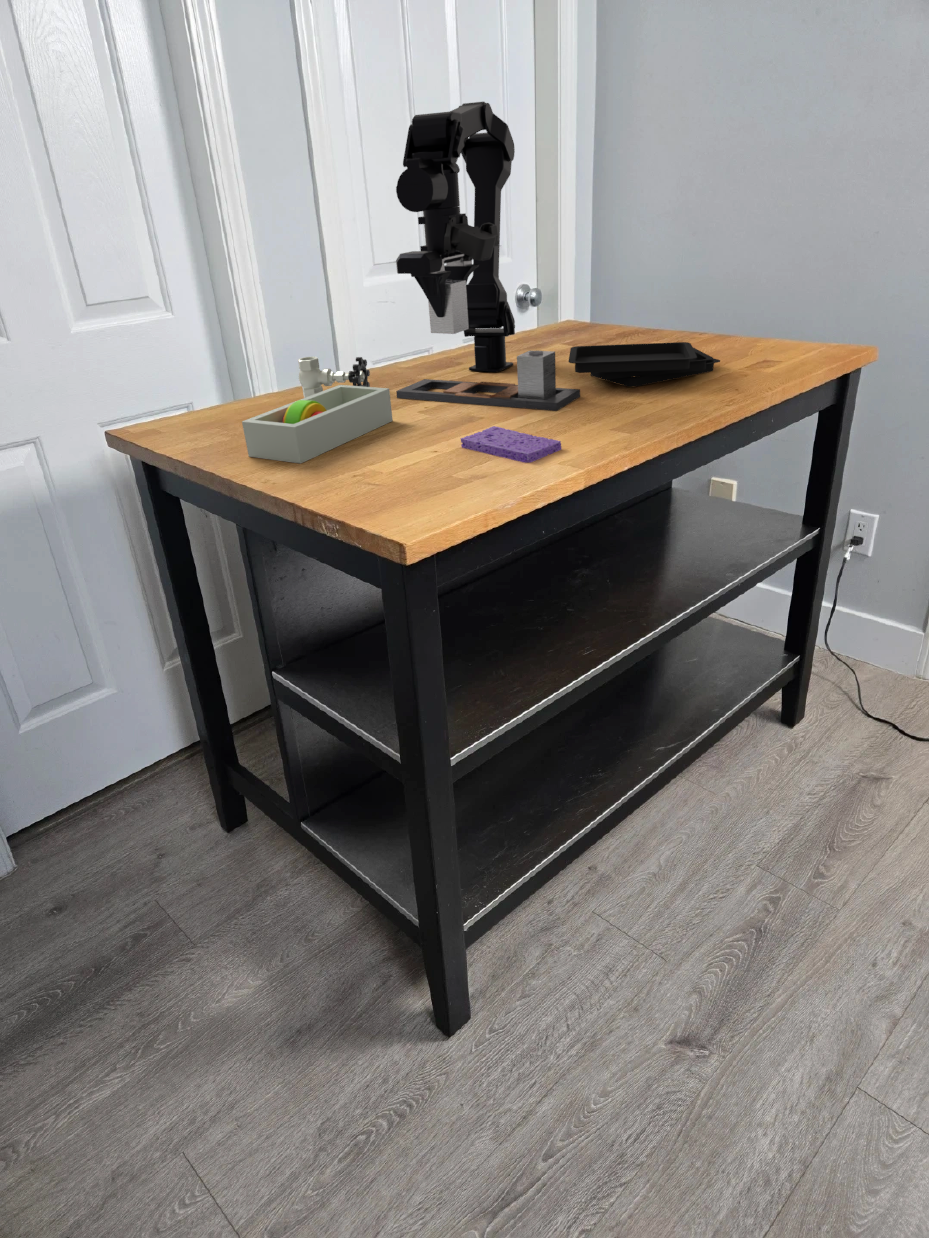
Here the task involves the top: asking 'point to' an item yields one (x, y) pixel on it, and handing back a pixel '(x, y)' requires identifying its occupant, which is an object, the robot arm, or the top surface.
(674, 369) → the tray
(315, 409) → the green arched piece
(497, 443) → the sponges
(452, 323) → the knobbed block
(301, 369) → the valve
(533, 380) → the grey metal block
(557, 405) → the rail
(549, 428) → the top surface
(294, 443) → the box
